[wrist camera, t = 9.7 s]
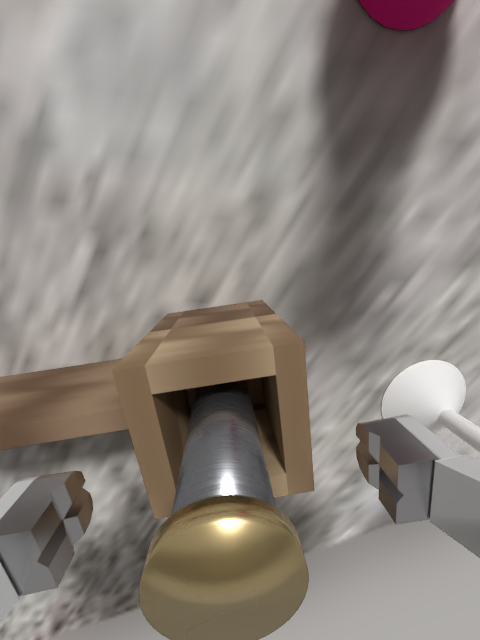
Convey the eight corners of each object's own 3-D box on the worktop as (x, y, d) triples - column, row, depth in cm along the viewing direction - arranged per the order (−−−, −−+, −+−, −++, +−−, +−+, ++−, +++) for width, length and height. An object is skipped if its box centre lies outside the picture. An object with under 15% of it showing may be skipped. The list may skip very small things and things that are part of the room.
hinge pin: (246, 345, 12) (302, 509, 4) (253, 397, 13) (313, 630, 5) (188, 353, 12) (119, 543, 4) (198, 406, 13) (158, 663, 5)
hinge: (62, 555, 19) (-47, 758, 11) (-32, 342, 15) (-319, 435, 7) (285, 514, 20) (326, 678, 12) (262, 300, 15) (304, 341, 8)
